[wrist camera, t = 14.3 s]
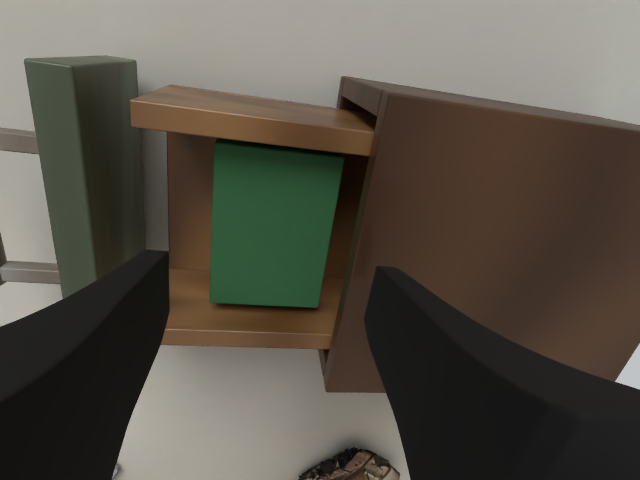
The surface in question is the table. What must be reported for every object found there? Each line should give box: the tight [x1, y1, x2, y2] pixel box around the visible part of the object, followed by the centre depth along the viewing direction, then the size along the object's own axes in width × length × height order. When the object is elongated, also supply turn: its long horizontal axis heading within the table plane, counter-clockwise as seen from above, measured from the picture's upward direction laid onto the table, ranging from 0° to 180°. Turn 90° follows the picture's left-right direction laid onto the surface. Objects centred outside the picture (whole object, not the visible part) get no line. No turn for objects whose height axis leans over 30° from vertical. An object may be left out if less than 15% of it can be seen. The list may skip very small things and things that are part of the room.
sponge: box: [209, 138, 345, 308], centre depth 16 cm, size 4×6×4 cm
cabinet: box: [318, 76, 640, 393], centre depth 18 cm, size 14×12×8 cm
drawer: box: [0, 56, 377, 349], centre depth 15 cm, size 17×10×6 cm, turn 81°
